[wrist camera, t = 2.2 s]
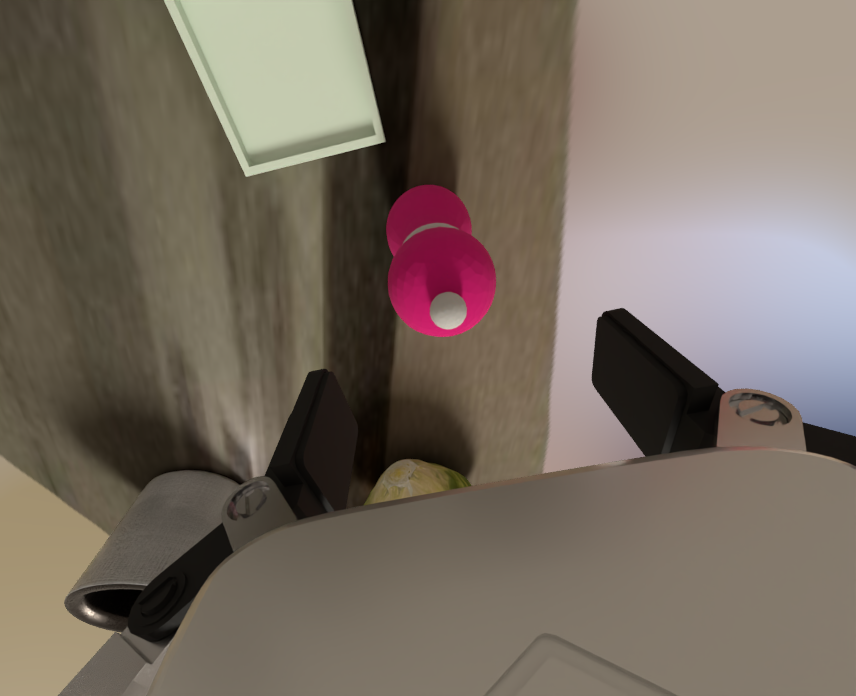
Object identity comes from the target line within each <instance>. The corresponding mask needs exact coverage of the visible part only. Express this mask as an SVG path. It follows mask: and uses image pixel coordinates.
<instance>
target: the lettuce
mask: <svg viewBox="0 0 856 696" xmlns="http://www.w3.org/2000/svg"><path fill="white" fill-rule="evenodd" d="M469 486H471V484H470V483H469V481H468V480H467V479H466V478H465V477H464V476H463V475H461V474H459V473H458V472H456V471H453V470H451V469H448V468H446V467H444V466H441V465H438V464H436V463H427V462H424V461H421V460H419V459H404V460H400V461H397V462H395V463H394V464H392V465H391V466H390V467H389V468H388V469H387V470H386V471H385V472H384V473H383V474H382V475H381V476H380V478H379V480H378V482H377V484H376V486H375V487H374V488H373V490H372V491H371V493H370V495H369V496H368V498H367V500H366V502H365V504H364V505H369V504H374V503H379V502H385V501H391V500H396V499H402V498H407V497H413V496H419V495H424V494H430V493H435V492H441V491H447V490H452V489H458V488H464V487H469Z"/></svg>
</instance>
